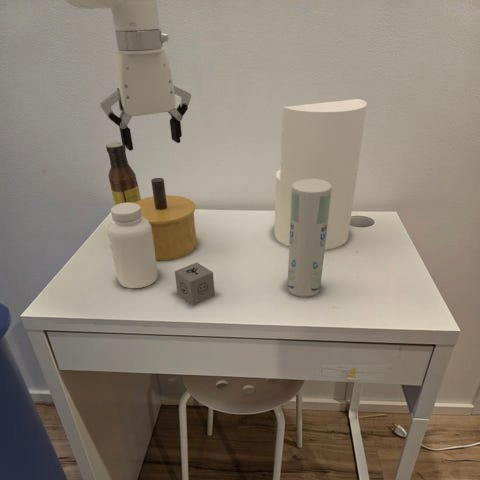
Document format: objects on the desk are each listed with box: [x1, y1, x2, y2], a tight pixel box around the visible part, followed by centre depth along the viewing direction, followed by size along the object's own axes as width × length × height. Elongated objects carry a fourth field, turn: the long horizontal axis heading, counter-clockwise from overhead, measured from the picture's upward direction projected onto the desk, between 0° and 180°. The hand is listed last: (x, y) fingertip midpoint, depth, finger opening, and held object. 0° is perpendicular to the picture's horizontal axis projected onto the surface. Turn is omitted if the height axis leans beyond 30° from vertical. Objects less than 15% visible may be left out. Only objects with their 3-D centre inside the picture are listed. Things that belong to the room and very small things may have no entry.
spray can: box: [287, 179, 332, 298], centre depth 77 cm, size 6×6×20 cm
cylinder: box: [273, 98, 368, 251], centre depth 94 cm, size 17×17×28 cm
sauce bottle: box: [105, 141, 142, 206], centre depth 101 cm, size 7×6×20 cm
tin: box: [150, 212, 197, 261], centre depth 96 cm, size 14×14×8 cm
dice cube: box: [174, 261, 215, 306], centre depth 81 cm, size 5×5×5 cm
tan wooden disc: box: [134, 177, 196, 224], centre depth 92 cm, size 15×15×7 cm
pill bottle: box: [107, 203, 159, 289], centre depth 83 cm, size 8×8×15 cm
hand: (153, 145), depth 86 cm, fingers open, 9 cm apart
